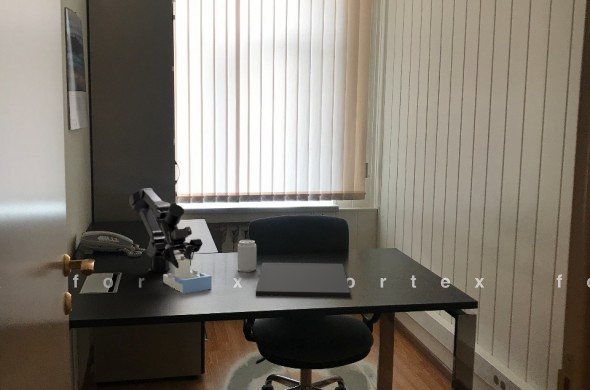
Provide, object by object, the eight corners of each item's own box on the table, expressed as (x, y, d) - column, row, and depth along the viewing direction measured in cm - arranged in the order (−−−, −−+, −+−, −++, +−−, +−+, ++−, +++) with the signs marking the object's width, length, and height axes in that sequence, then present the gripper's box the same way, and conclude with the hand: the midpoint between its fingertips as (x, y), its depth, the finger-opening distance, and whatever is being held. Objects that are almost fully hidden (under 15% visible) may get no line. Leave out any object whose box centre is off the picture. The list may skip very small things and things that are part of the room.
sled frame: (163, 282, 235) (163, 269, 234) (190, 278, 241) (190, 265, 240) (183, 294, 220) (183, 280, 220) (211, 289, 227) (211, 275, 226)
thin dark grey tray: (342, 269, 259) (262, 268, 259) (342, 263, 259) (262, 262, 259) (349, 299, 219) (255, 297, 219) (350, 292, 219) (255, 291, 219)
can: (253, 273, 249) (253, 243, 248) (235, 271, 251) (235, 242, 249) (258, 268, 256) (258, 239, 255) (240, 267, 258) (240, 238, 256)
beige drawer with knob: (175, 283, 234) (174, 256, 232) (186, 281, 236) (186, 254, 235) (179, 285, 231) (178, 258, 230) (190, 283, 234) (190, 256, 232)
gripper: (153, 222, 228) (166, 258, 221) (200, 217, 239) (213, 251, 231) (145, 239, 236) (158, 274, 228) (191, 234, 246) (204, 267, 239)
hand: (184, 266), depth 232 cm, fingers closed on beige drawer with knob, 4 cm apart
